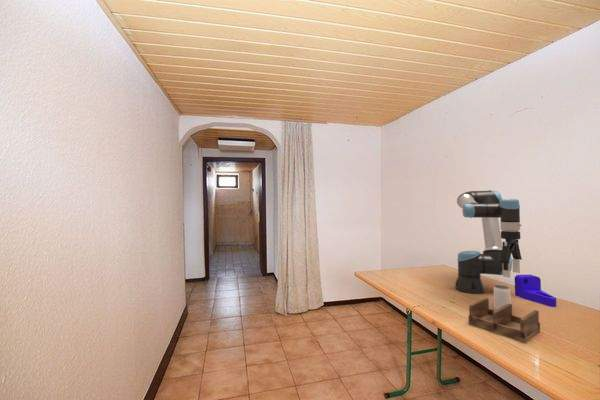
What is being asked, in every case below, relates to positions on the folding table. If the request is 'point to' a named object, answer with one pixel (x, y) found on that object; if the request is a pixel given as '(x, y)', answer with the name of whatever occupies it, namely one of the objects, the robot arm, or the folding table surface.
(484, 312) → the rack
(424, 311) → the folding table surface
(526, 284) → the bracket
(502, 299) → the can
